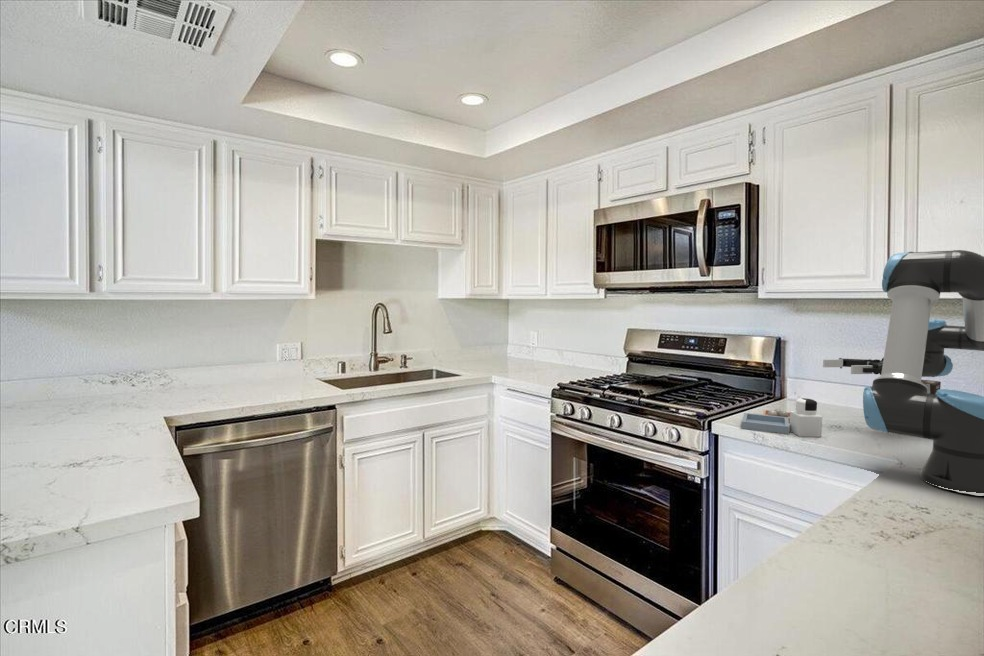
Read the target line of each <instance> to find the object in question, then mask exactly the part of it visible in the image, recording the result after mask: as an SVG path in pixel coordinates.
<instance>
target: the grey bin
mask: <svg viewBox="0 0 984 656" xmlns="http://www.w3.org/2000/svg"><path fill="white" fill-rule="evenodd" d="M789 425H790V423H789V420H788V417H779V416H770V415H763V414H759V413H748V412H743V415H742V420H741V429H742V430H750V431H751V430H752V431H758V432H765V431H766V433H773V432H777V433H776V434H782V433H785V434H784V435H789V434H790V431H789Z"/></svg>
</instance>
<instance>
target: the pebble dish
mask: <svg viewBox="0 0 984 656" xmlns="http://www.w3.org/2000/svg"><path fill="white" fill-rule="evenodd" d="M771 410H772V409H771ZM771 410H769V409H763V410H762V411H763V412H762V415H768V412H769V411H771ZM786 412H787V413H788V420H789V424H790V411H786Z"/></svg>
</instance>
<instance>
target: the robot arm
mask: <svg viewBox="0 0 984 656" xmlns="http://www.w3.org/2000/svg"><path fill="white" fill-rule="evenodd" d="M881 287H882V288H881V289H882V291H883V293H884V292H885V293H886V294H887V298H888V299H890V300H891V301H892V303H891V311H890V317H889V323H888V330H887V335H886V342H885V348H884V356H883V357H882V358H881V359H877V358H876V359H872V358H871V359H870V358H869V359H864V358H863V359H862V358H861V359H859V358H857V359H856V358H842V357H840V358H837V359H835V358H832V359H829V358H828V359H827V358H826V359H822V367H823V368H839V369H843V368H850V375H873V374H874V375H879V376H878V377H876V378H874V379H873V381H872V385H871V386H870V385H868V386H865V387H864V388H863V393H862V408H863V417H864V421H865V423H866V425H867V427H869V428H870V429H871V430H875V431H880V432H883V433H887V434H896V435H902V436H909V437H913V438H919V439H920V438H921V439H926V440H932V451H931V453H930V455H929V457H928V459H927V460H926V463H924V466H923V467H922V471H921V479H922V480H923V479H924V480H925V481H927V482H929V483H931V484H934V485H937V486H941V487H944V488H948V489H953V490H959V491H966V492H976V493H984V396H983V395H979V394H975V393H970V392H966V391H961V390H956V389H955V390H954V389H946V388H940V389H939V390H937V392H936V395H935V394H927V387H926V386H925V385H924V384H923V383H922V382H921V380H922V378H927V377H928V378H935V377H945V376H948V375H949V374H951V372H952V370H953V368H954V363H953V362H952V358H950V357H949V356H948V355H946V354H945V349H948V350H949V349H950V350H951V349H952V350H967V351H977V352H978V351H980V352H981V351H983V352H984V255H981V254H978V253H977V252H974V251H968V250H963V249H958V250H957V249H954V250H940V251H939V250H935V251H934V250H932V251H907V252H897V253H894V254H892V255H891V256H890V257H889V258H888V260H887V262H886V263H885V266H884V268H883V272H882V280H881ZM941 293H958V295H959V296H961V298H962V299H961V300H962V306H963V307H962V308H963V320H964V321H963V322H964V326H963V325H960V326H959V325H947V322H946V320H945V319H937V318H936V319H933V318H932V319H931V318H930V317H931V310H932V304H933V303H935V302H938V300H939V299H940V297H941ZM924 480H923V481H924ZM925 481H924V482H925Z"/></svg>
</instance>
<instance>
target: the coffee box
mask: <svg viewBox="0 0 984 656" xmlns="http://www.w3.org/2000/svg"><path fill="white" fill-rule="evenodd" d="M921 382H922V383H923V384H924V385H925V386H926V387H927V394H935V395H936V392H937V390H939V389H941V384H942V383H941V381H939V380H930V379H921Z"/></svg>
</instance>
